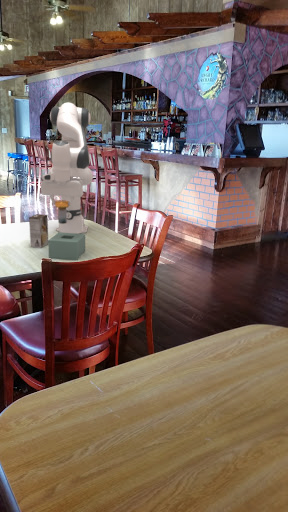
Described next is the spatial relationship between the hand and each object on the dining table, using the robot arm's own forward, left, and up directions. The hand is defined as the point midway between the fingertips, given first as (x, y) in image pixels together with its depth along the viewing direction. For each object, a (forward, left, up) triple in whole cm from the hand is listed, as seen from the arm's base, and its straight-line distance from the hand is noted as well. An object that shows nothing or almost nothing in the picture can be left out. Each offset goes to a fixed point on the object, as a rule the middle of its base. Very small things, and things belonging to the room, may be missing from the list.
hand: (62, 205), depth 203 cm
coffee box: (-12, -17, -25) cm, 33 cm away
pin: (0, 0, -9) cm, 9 cm away
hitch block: (0, +2, -25) cm, 25 cm away
